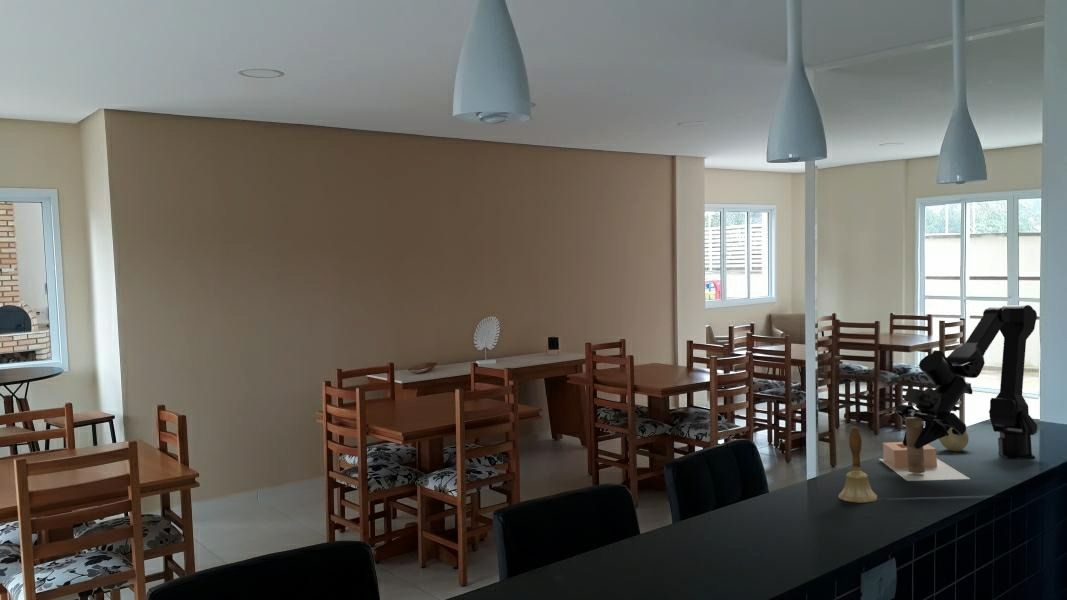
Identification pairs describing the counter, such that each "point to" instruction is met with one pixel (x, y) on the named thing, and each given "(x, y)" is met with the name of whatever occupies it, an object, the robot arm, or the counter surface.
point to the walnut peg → (912, 435)
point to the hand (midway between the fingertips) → (909, 446)
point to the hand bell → (857, 475)
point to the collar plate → (929, 473)
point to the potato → (954, 441)
